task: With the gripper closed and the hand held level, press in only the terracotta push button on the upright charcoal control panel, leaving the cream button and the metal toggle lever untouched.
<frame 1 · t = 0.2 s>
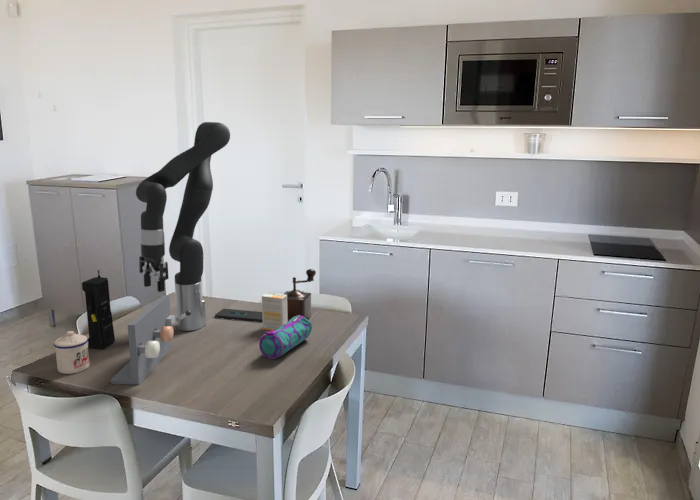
hand: (154, 288, 184), 18 cm above the table, tool pointing down, fingers open, 8 cm apart
cream button: (144, 349, 154), point 10 cm above the table, slide at 0.0 cm
portable radio: (101, 346, 180), on the table
teacup with lid: (76, 366, 165), on the table
toggle lever: (185, 314, 176), point 12 cm above the table, hinge at 30.0°
supplement box: (275, 329, 198), on the table
pencil case: (286, 349, 181), on the table
terracotta button: (159, 333, 165), point 10 cm above the table, slide at 0.0 cm
smart home device: (243, 318, 210), on the table
manual coffee grinder: (297, 317, 211), on the table
control panel: (160, 364, 167), on the table
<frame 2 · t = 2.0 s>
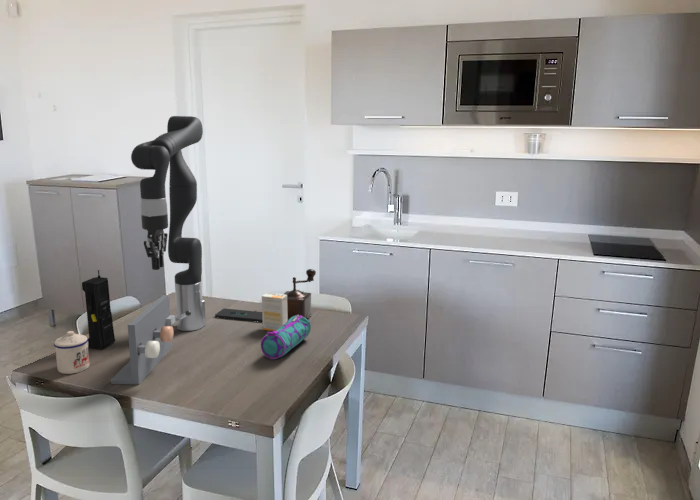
hand: (157, 268, 167), 29 cm above the table, tool pointing down, fingers closed
nothing on the table moved.
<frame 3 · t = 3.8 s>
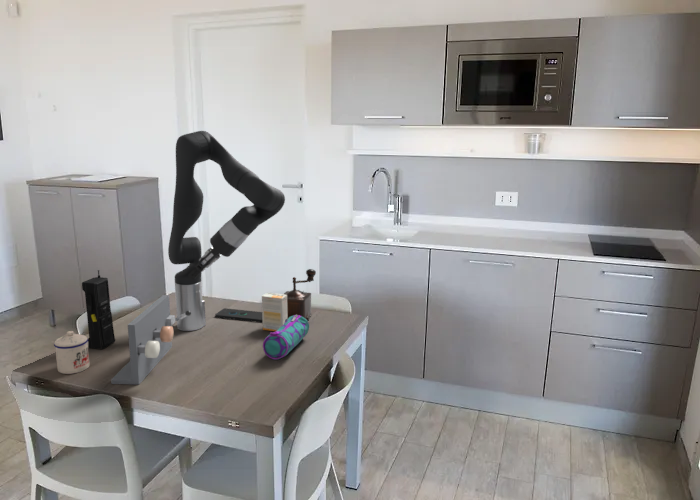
hand: (190, 276, 161), 28 cm above the table, tool tilted 45°, fingers closed
nothing on the table moved.
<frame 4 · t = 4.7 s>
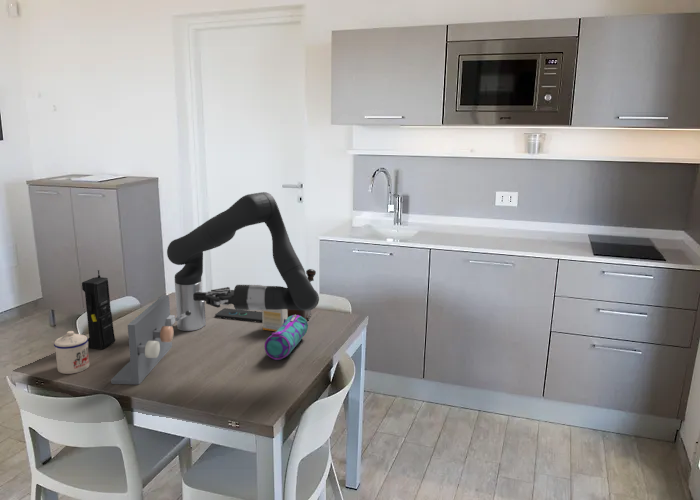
hand: (194, 296, 162), 22 cm above the table, tool horizontal, fingers closed
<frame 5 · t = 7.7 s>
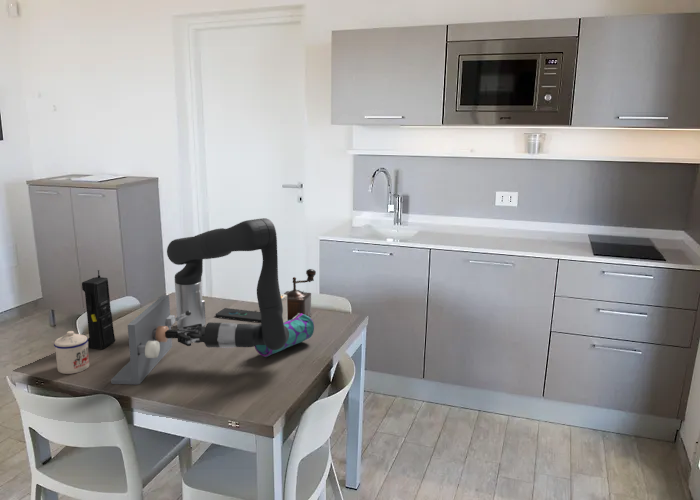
hand: (166, 333, 165), 10 cm above the table, tool horizontal, fingers closed
pencil case: (287, 348, 179), point 1 cm above the table, touching arm
terracotta button: (154, 333, 165), point 10 cm above the table, slide at 1.4 cm, touching gripper
everything else where it was.
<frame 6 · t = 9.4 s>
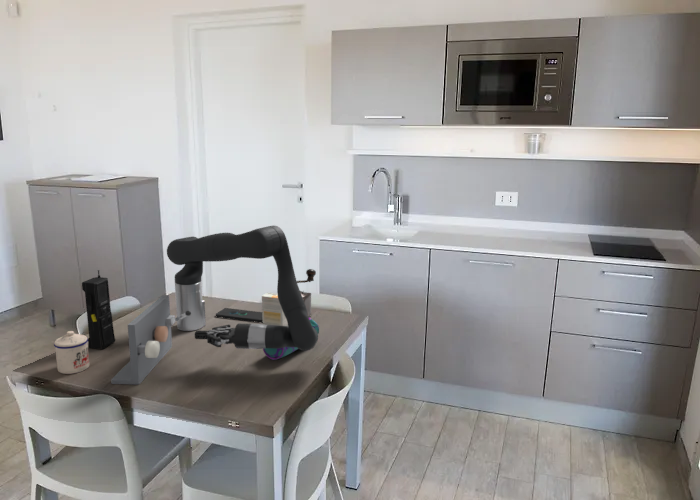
hand: (195, 334, 165), 10 cm above the table, tool horizontal, fingers closed
pencil case: (291, 351, 180), on the table
terracotta button: (153, 333, 165), point 10 cm above the table, slide at 1.7 cm
everything else where it was.
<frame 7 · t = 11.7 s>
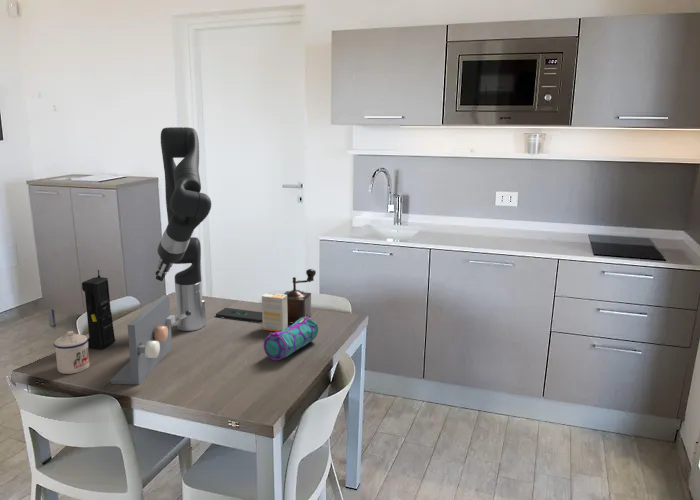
hand: (159, 278, 166), 26 cm above the table, tool tilted 40°, fingers closed
nothing on the table moved.
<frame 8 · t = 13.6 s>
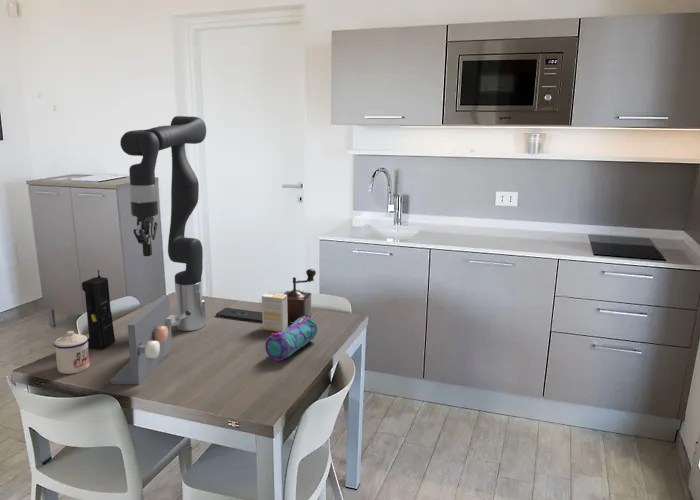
hand: (147, 255, 166), 33 cm above the table, tool pointing down, fingers closed
nothing on the table moved.
at the end: terracotta button slide at 1.7 cm; cream button slide at 0.0 cm; toggle lever at +30° (first picture: +30°) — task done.
